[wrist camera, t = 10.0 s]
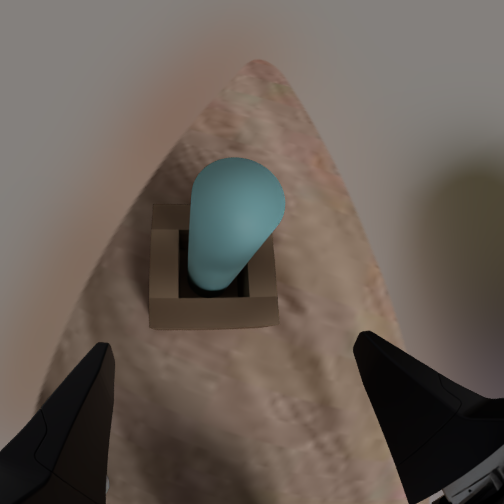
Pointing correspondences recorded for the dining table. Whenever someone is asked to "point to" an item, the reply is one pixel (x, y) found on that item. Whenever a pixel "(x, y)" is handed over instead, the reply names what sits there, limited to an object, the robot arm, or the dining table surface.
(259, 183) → the teal pin
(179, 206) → the walnut hole block
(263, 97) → the dining table surface
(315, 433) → the dining table surface
